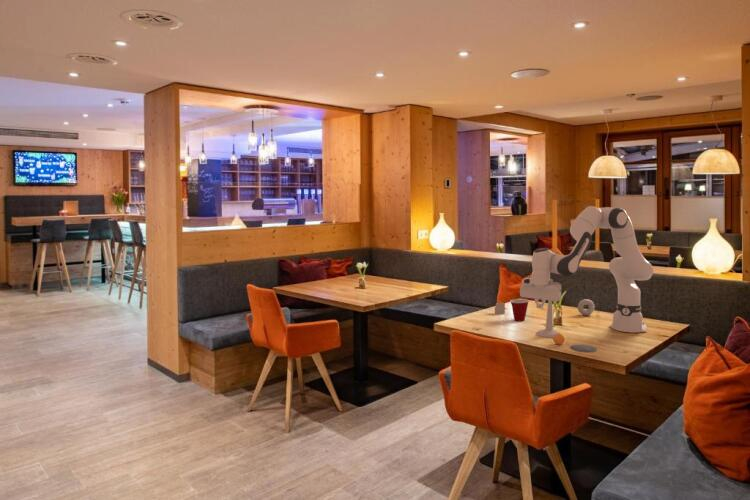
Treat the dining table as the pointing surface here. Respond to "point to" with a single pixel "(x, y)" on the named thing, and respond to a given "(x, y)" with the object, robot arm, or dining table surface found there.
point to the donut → (590, 309)
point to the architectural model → (500, 308)
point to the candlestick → (548, 323)
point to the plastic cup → (519, 309)
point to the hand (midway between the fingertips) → (539, 307)
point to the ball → (558, 338)
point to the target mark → (583, 348)
